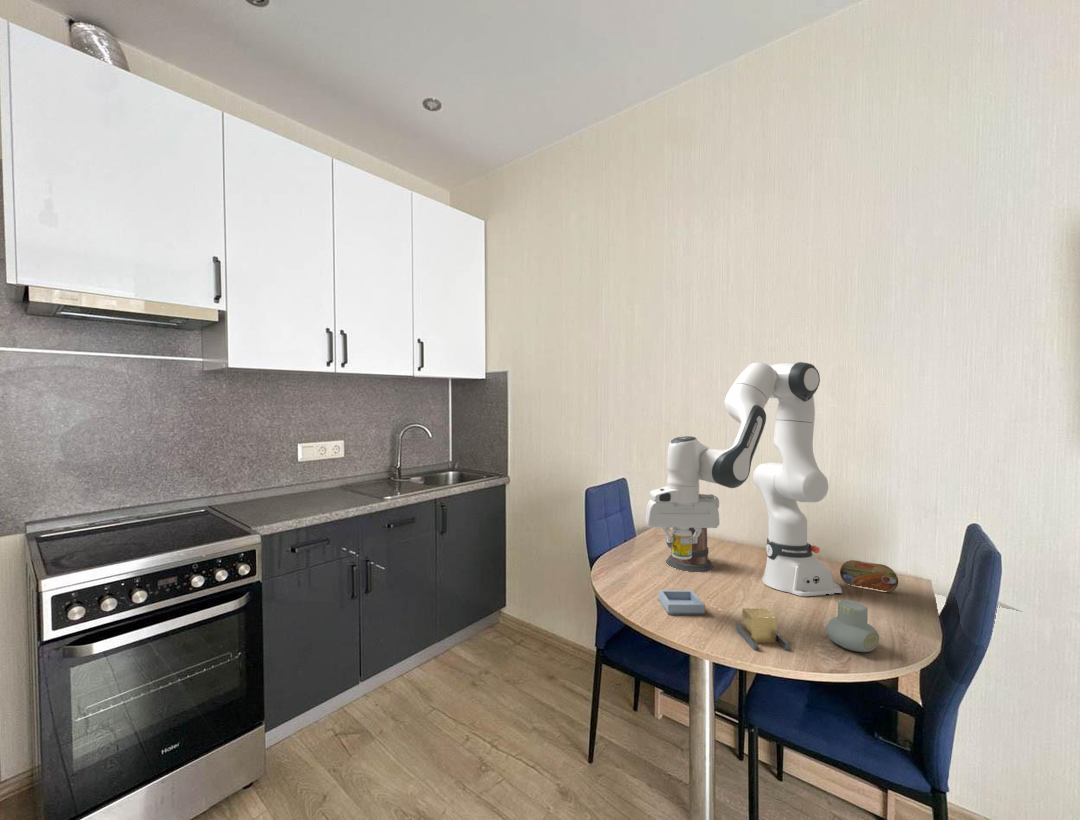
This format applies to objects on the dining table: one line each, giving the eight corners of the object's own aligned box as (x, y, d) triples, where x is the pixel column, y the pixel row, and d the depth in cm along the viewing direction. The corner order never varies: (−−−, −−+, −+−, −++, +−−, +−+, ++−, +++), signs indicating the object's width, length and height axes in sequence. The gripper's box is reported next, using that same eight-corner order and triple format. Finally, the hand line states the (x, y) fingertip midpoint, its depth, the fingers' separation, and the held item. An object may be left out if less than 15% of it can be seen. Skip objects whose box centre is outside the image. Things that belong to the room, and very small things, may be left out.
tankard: (724, 570, 161) (725, 513, 161) (680, 574, 157) (681, 515, 157) (687, 550, 183) (688, 500, 183) (648, 552, 179) (649, 501, 179)
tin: (839, 584, 149) (840, 559, 149) (839, 581, 152) (840, 556, 152) (898, 596, 141) (898, 568, 141) (897, 592, 144) (897, 565, 144)
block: (765, 632, 116) (766, 608, 116) (776, 642, 111) (776, 617, 111) (742, 632, 116) (742, 608, 116) (751, 642, 111) (751, 617, 111)
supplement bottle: (694, 560, 127) (694, 525, 127) (674, 559, 127) (675, 525, 127) (688, 553, 132) (688, 520, 132) (669, 553, 133) (670, 520, 133)
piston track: (757, 617, 125) (757, 610, 125) (793, 651, 107) (793, 643, 107) (719, 616, 125) (719, 609, 125) (749, 651, 107) (749, 642, 107)
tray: (692, 600, 135) (692, 590, 135) (704, 616, 125) (704, 605, 125) (658, 600, 135) (658, 589, 135) (668, 615, 125) (668, 604, 125)
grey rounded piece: (846, 633, 116) (847, 594, 116) (883, 648, 109) (884, 606, 109) (821, 643, 111) (821, 602, 111) (858, 660, 104) (858, 616, 104)
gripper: (714, 492, 133) (714, 540, 133) (644, 491, 133) (643, 539, 133) (723, 496, 127) (722, 546, 127) (649, 495, 127) (649, 545, 127)
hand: (681, 542), depth 130 cm, fingers closed on supplement bottle, 5 cm apart
